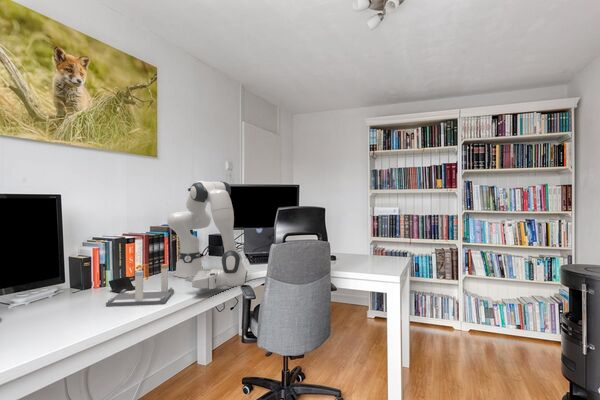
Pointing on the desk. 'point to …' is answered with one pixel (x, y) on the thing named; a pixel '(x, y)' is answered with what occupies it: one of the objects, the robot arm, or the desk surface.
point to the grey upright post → (164, 277)
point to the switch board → (148, 298)
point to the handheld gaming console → (121, 285)
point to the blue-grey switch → (139, 285)
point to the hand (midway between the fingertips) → (185, 279)
